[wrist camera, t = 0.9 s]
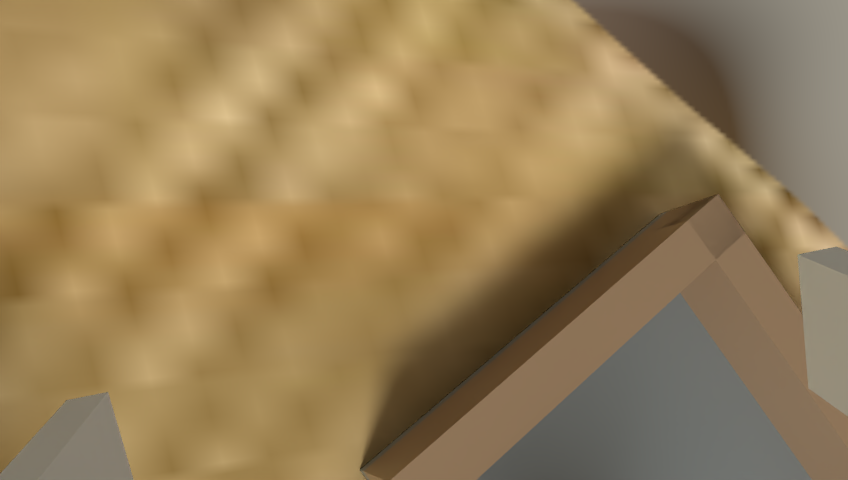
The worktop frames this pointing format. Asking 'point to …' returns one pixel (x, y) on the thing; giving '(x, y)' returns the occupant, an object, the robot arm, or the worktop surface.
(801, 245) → the worktop surface
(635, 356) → the tray
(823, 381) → the robot arm
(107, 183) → the worktop surface
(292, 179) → the worktop surface
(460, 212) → the worktop surface
